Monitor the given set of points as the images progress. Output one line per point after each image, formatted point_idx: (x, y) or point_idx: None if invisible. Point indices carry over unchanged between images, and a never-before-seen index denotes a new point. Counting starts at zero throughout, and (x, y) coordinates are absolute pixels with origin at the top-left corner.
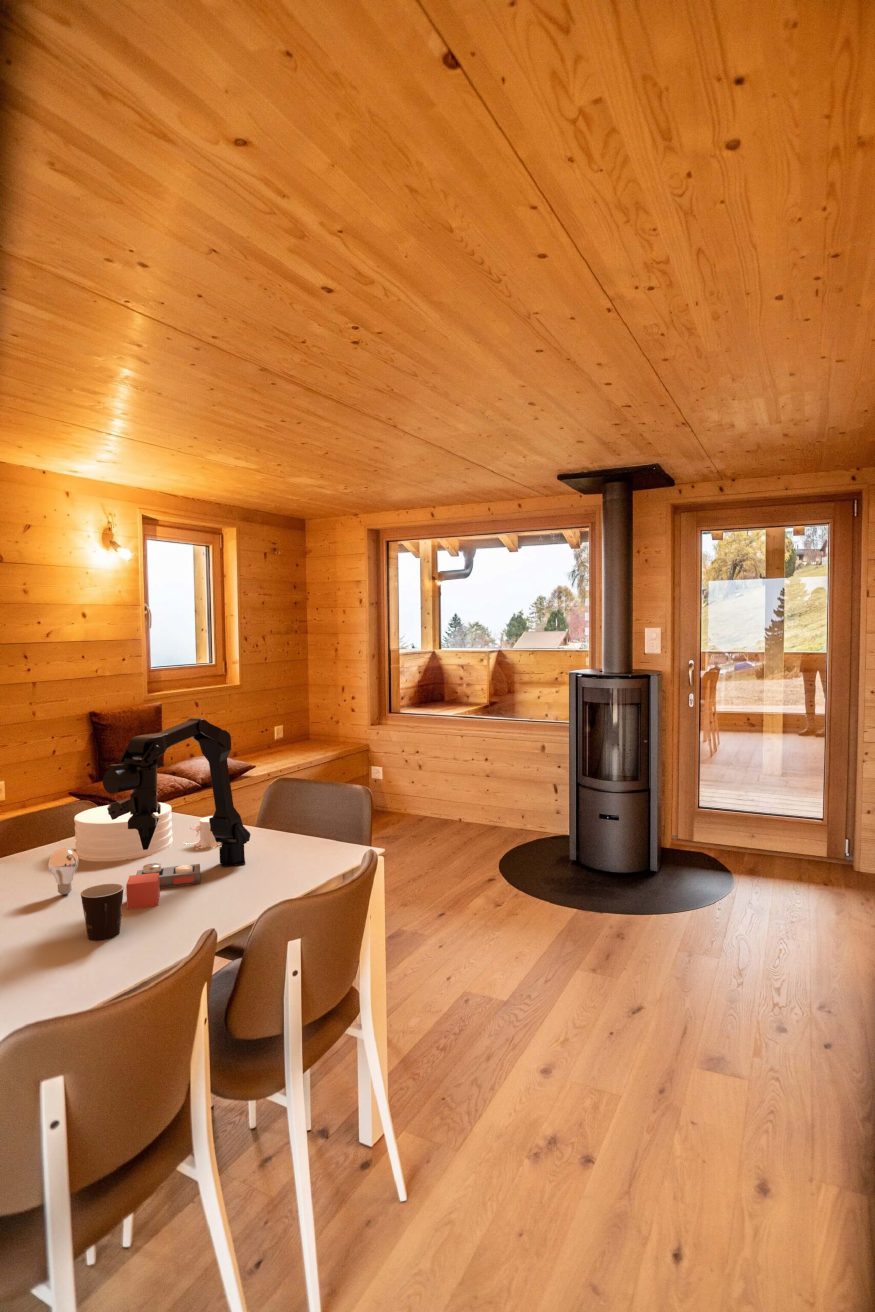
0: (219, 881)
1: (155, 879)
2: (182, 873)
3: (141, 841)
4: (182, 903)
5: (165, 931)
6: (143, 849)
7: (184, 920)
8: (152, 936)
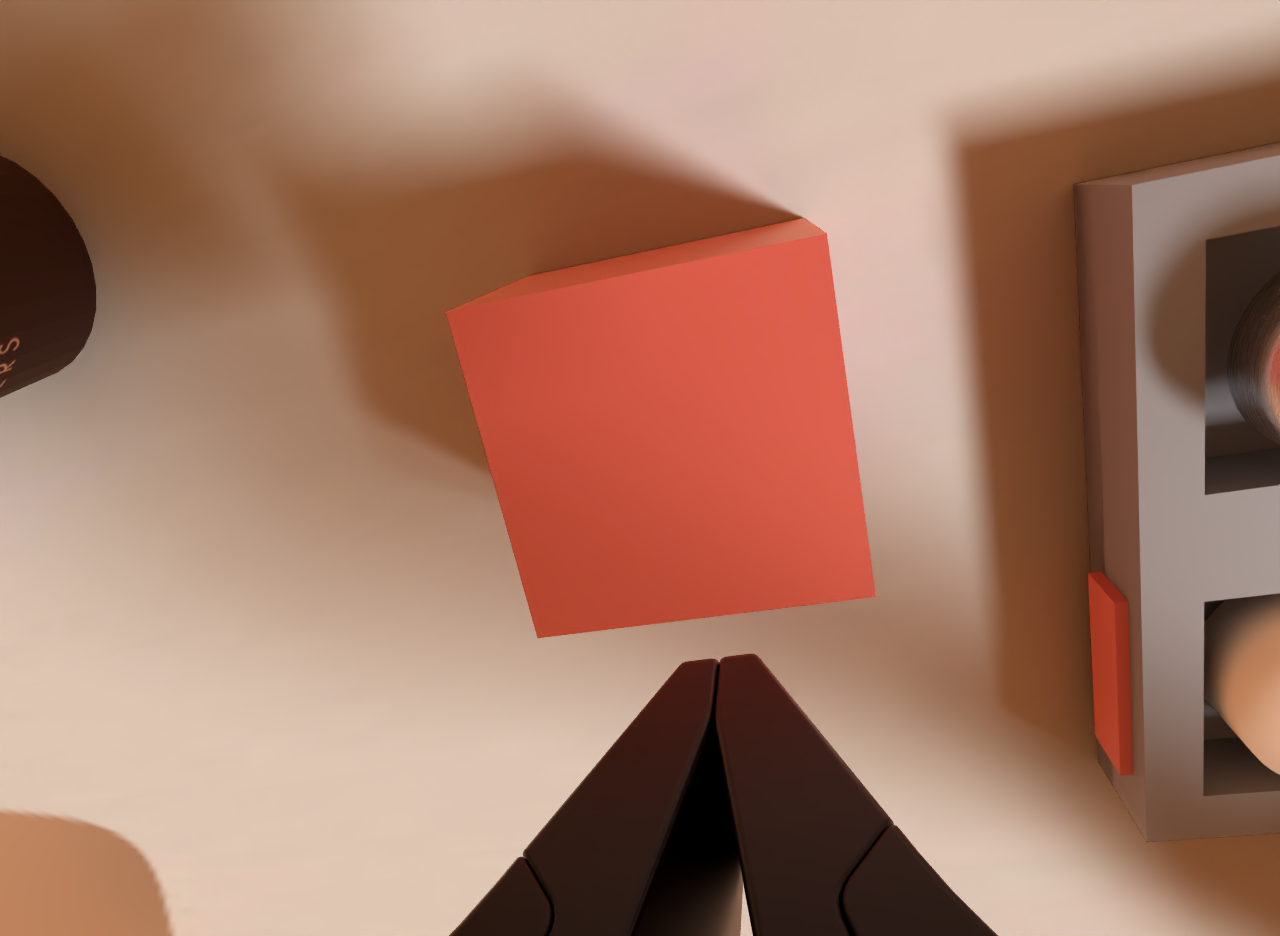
0: (1113, 895)
1: (602, 608)
2: (1182, 696)
3: (585, 791)
4: (616, 696)
5: (103, 674)
6: (679, 671)
7: (283, 755)
8: (21, 613)
